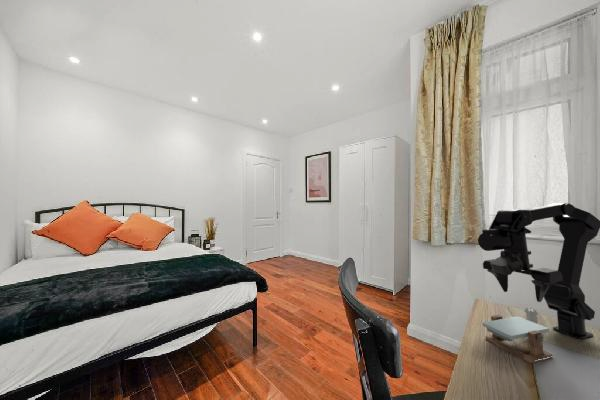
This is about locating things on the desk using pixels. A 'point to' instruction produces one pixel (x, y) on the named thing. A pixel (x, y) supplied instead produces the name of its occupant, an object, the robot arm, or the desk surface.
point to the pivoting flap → (513, 327)
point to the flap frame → (534, 344)
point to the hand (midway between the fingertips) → (521, 296)
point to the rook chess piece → (531, 315)
